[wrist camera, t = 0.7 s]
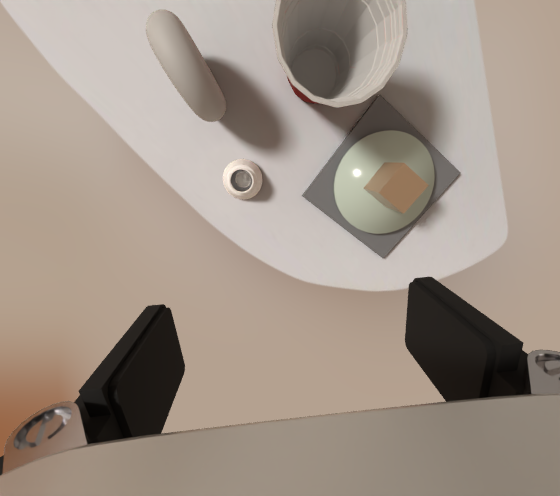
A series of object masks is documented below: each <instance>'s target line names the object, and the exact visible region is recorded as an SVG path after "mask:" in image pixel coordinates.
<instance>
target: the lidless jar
mask: <svg viewBox="0 0 560 496" xmlns="http://www.w3.org/2000/svg"><path fill="white" fill-rule="evenodd" d="M236 170H245V171H247V172H248V173H247V172H245V171H241V172H239V173H237V175H236V177H235V181H236V184H237V185H238V186H239V187H242V188H245V187H248V186H249V185H250V183H251V177H252V185H251V187H250V188H249V189H248V190H247V191H243V192H241V191H237V190H236V189H234V188H233V186H232V184H231V176H232V174H233V173H234V172H235V171H236ZM250 175H251V176H250ZM262 181H263V180H262V173H261V171H260V170H259V168H258V166H257V165H255V164H254V163H253V162H252V161H249V160H245V159H239V160H235V161H233V162H231V163H230V164H228V166H227V167H226V169H225V170H224V174H223V183H224V187H225V188H226V190H227V192H228V193H229V194H230V195H232V196H233V197H234V198H238V199H241V200H244V199H250V198H252V197H253V196H255V195H256V194H257V193H258V192H259V190H260V189H261V185H262Z"/></svg>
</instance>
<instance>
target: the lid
mask: <svg viewBox="0 0 560 496" xmlns="http://www.w3.org/2000/svg"><path fill="white" fill-rule="evenodd" d="M434 178H435V174H434V165H433V161H432V158H431V156H430V154H429V152H428V150H427V149H426V147H425V146H424V145H423V144H422V143H421V142H420V141H419V140H418V139H417V138H415V137H414V136H412V135H410V134H408V133H405V132H401V131H394V130H388V131H381V132H377V133H373V134H370V135H368V136H366V137H364V138H362V139H360V140H359V141H357V142H356V143H355V144H354V145H352V146H351V147H350V148H349V149H348V151H347V152H346V153H345V154H344V156H343V157H342V159H341V160H340V162H339V164H338V167H337V169H336V172H335V176H334V183H333V193H334V199H335V203H336V205H337V208H338V210H339V211H340V213H341V215H342V216H343V217H344V218H345V219H346V220H347V221H348V222H349V223H350V224H351V225H353V226H354V227H356V228H358V229H360V230H362V231H365V232H368V233H374V234H382V233H389V232H393V231H396V230H398V229H401V228H403V227H404V226H406V225H408V224H409V223H410V222H412V221H413V220H414V219H415V218H416V217H417V216H418V215H419V214H420V213H421V212H422V210H423V209H424V208H425V206H426V204H427V203H428V201H429V199H430V196H431V193H432V190H433V186H434Z"/></svg>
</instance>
